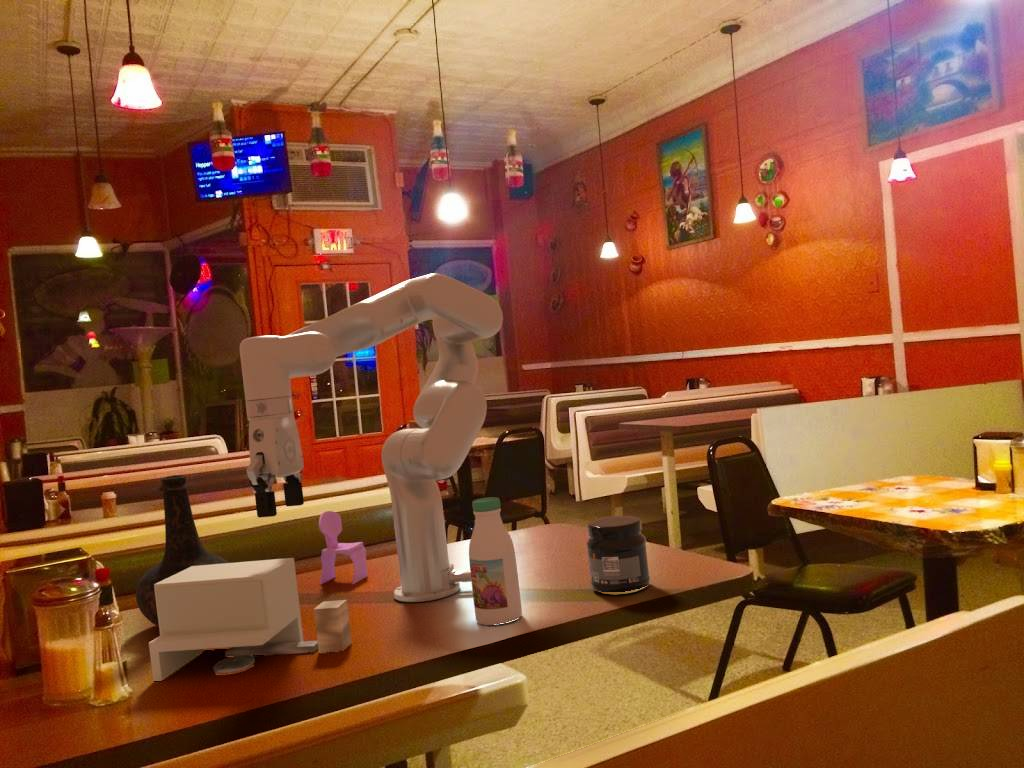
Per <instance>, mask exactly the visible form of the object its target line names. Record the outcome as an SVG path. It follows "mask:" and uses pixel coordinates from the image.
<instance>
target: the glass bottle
mask: <svg viewBox="0 0 1024 768" xmlns="http://www.w3.org/2000/svg"><path fill="white" fill-rule="evenodd" d="M160 483H161V486H160V487H158V488H157V491H158V492H162V497H163V498H162V499H163V510H164V513H163V514H164V527H165V531H164V532H165V534H164V535H165V539H164V540H165V541H164V542H165V546H164V555H163V558H162V559H161V561H160V562H159V563H157V564H156V565H154V566H152V567H151V568H149V569H147V571H146V572H145V573H143V575H142V576H141V578H140V579H139V581H138V583H137V586H136V592H135V600H136V603H137V604H136V605H137V607H138V609H139V612H141V614H142V615H143V617H145V618H146V619H147V620H148V621H149V622H150V623H151V624H153V625H155V626H156V627H158V628H159V622H158V614H157V606H156V598H155V589H154V584H156V583H158V582H160V581H162V580H164V579H166V578H168V577H171V576H173V575H175V574H177V573H179V572H181V571H183V570H185V569H187V568H189V567H191V566H200V565H212V564H224V563H230V562H229V561H228V560H226V559H225V558H223V557H221V556H218V555H216V554H212V553H210V552H208V551H207V549H206V548H205V547H204V545H203V542H202V541H201V539H200V535H199V533H198V531H197V526H196V523H195V519H194V516H193V511H192V510H193V509H192V506H191V502H190V496H189V495H190V494H189V490H188V487H189V485H188V484H187V476H186V475H184V474H183V475H182V474H177V475H170V476H164V477H162V478H160Z"/></svg>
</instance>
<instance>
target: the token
mask: <svg viewBox="0 0 1024 768" xmlns="http://www.w3.org/2000/svg"><path fill="white" fill-rule="evenodd" d="M255 659H256V658H255V656H251V655H240V656H234V657H230V658H224V659H222V660H219V661H217V662H216V663H215V664H213V667H212V668H213V673H214V672H215V673H218V674H228V673H234V672H239V671H242V670H245V669H247V668H249V667H251V666H253V665H254V663H255V664H256V660H255ZM254 666H255V665H254ZM254 666H253V667H254Z"/></svg>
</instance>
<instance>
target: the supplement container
mask: <svg viewBox="0 0 1024 768" xmlns="http://www.w3.org/2000/svg"><path fill="white" fill-rule="evenodd" d="M586 528H587V529H586V530H587V535H588V536H589V538H588V539H587V541H586V544H585V545H586V546H585V547H586V549H587V556H588V565H589V574H590V575H589V576H590V585H591V588H592V589H593V590H594V591H595V590H597V591H601V592H625V591H631V590H635V589H640V588H642V587H645V586H647V585H648V584H649V585H650V582H651V579H650V572H649V564H648V555H647V554H648V553H647V545H646V543H647V539H646V538H647V537H646V536H645V535H644V534H643V533H642V532H641V531H642V529H643V527H642V520H641V518H639V517H637V516H631V515H616V516H605V517H601V518H597V519H593V520H590V521H589V522H588V523H587V525H586ZM649 585H648V586H649ZM648 586H647V587H648Z"/></svg>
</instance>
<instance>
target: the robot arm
mask: <svg viewBox="0 0 1024 768" xmlns="http://www.w3.org/2000/svg"><path fill="white" fill-rule="evenodd" d="M503 315H504V314H503V311H502V308H501V306H500V304H499V303H498V302H497V300H495V299H494V298H493V297H491V295H489V294H487V293H485V292H483V291H480V290H478V289H477V288H475V287H472V286H470V285H468V284H466V283H464V282H462V281H460V280H458V279H456V278H453V277H451V276H448V275H445V274H441V273H437V272H434V273H429V274H425V275H421V276H418V277H415V278H411V279H407V280H405V281H402V282H400V283H398V284H396V285H394V286H391V287H390V288H387V289H385V290H383V291H381V292H379V293H377V294H375V295H373V296H370V297H367V298H365V299H363V300H361V301H359V302H356V303H354V304H352V305H349V306H348V307H346V308H343V309H341V310H339V311H338V312H336V313H333V314H331V315H329V316H327V317H324V318H323V319H319V320H317V321H315V322H313V323H311V324H308V325H306V326H304V327H302V328H299V329H298V330H295V331H293V332H291V333H288V334H286V335H281V336H280V335H272V334H271V335H260V336H259V335H258V336H257V335H256V336H252V337H246V338H244V339H243V340H242V341H241V342H240V343H239V355H240V365H241V372H242V380H243V382H242V383H243V389H244V399H245V400H244V401H245V410H246V417H247V421H248V447H249V448H248V449H249V461H250V463H249V464H248V466H247V467H246V475H247V476H248V479H249V484H250V486H251V487H252V493H253V494H254V498H255V499H254V500H255V509H256V514H257V515H256V516H257V517H258V518H270V517H276V516H277V515H278V512H277V511H278V510H277V503H276V493H275V491H274V490H273V486H274V482H275V478H277V479H278V478H281V479H283V480H284V482H285V483H283V484H282V486H283V487H282V488H283V492H284V494H283V495H284V503H285V506H286V507H295V506H298V507H299V506H302V505H304V504H305V502H304V494H303V493H304V492H303V483H302V481H303V476H302V473H303V469H304V465H305V464H304V457H303V451H302V445H301V438H300V435H299V430H298V424H297V422H296V419H295V411H294V403H293V395H292V385H291V379H295V378H302V377H310V376H311V377H312V376H317V375H320V374H321V375H322V374H324V373H325V372H326V371H328V370H329V369H331V368H332V366H333V365H334V363H335V362H336V359H337V358H338V357H340V356H343V355H347V354H350V353H355V352H359V351H362V350H366V349H369V348H372V347H374V346H375V347H376V346H378V345H380V344H382V343H383V342H386V341H388V340H389V339H391V338H393V337H395V336H397V335H399V334H401V333H403V332H404V331H407V330H408V329H411V328H413V327H415V326H417V325H418V324H421V323H423V322H425V321H430V320H432V330H433V333H434V337H435V339H436V343H437V346H438V354H439V355H438V359H437V362H436V364H435V367H434V368H433V371H432V373H431V374H430V376H429V378H428V380H427V381H426V382H425V384H424V386H423V388H422V390H421V391H420V393H419V394H418V396H417V398H416V400H415V402H414V405H413V410H412V411H413V412H412V414H413V419H414V421H415V422H416V424H417V425H418V427H420V428H405V429H400V430H398V431H395V432H393V433H391V434H390V435H389V436H388V437H387V439H386V440H385V442H384V443H383V445H382V449H381V462H382V469H383V470H384V471H383V472H384V475H385V478H386V481H387V484H388V490H389V493H390V500H391V507H392V514H393V515H392V516H393V517H392V518H393V525H394V526H393V528H394V534H395V542H396V553H397V561H398V569H399V578H400V586H398V587H396V588H395V590H394V591H393V597H394V599H395V600H397V601H399V602H404V603H420V602H423V603H424V602H430V601H435V600H440V599H442V598H443V599H445V598H447V597H449V596H452V595H454V594H455V593H457V592H458V591H459V590H460V588H461V586H460V583H461V582H462V583H468V582H469V583H470V582H471V572H470V570H469V569H461V570H457V569H456V568H455V569H454V563H450V560H449V552H448V544H447V543H448V542H447V534H446V525H445V517H444V506H443V499H442V494H441V491H440V487H439V485H438V483H437V481H438V480H439V481H440V480H446V479H448V478H450V477H452V476H453V475H454V474H456V473H457V471H458V470H459V469H460V468H461V466H462V464H463V463H464V461H465V460H466V458H467V456H468V455H469V453H470V450H471V448H472V446H473V445H474V443H475V441H476V439H477V436H478V435H479V433H480V431H481V428H482V427H483V425H484V422H485V420H486V416H487V408H488V405H487V404H488V403H487V398H486V395H485V393H484V391H483V390H482V389H481V388H480V386H478V385H477V384H476V383H475V382H476V380H477V377H478V374H479V368H480V367H479V362H478V358H477V354H476V350H475V347H474V344H473V341H479V340H486V339H490V338H492V337H494V336H496V335H497V333H498V332H499V331H500V329H501V328H502V325H503V322H504V321H503V320H504V316H503ZM272 490H273V491H272ZM471 583H472V582H471Z"/></svg>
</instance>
